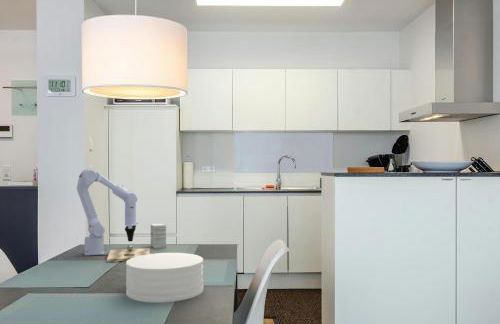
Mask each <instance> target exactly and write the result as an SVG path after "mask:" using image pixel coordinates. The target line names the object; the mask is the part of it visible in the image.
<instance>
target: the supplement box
mask: <svg viewBox="0 0 500 324" xmlns="http://www.w3.org/2000/svg"><path fill="white" fill-rule="evenodd" d="M150 247H152V248H153V249H161V248H163V249H164V248H167V225H166V224H164V223H150Z"/></svg>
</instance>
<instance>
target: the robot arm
mask: <svg viewBox="0 0 500 324" xmlns="http://www.w3.org/2000/svg"><path fill="white" fill-rule="evenodd" d="M94 182H97V183H100V184H102V185H104V186H105V187H107V188H109V189H110V190H112V194H113V195H114V196H116V197H117V198H119V199H121V200H123V202H124V226H125V227H124V231H125V233H126V236H127V237H126V238H127V241H128V242H133V240H134V235H135V231H136V227H137V225H139V222H137V208H136V207H137V206H136V205H137V204H136V202H137V201H138V196H137V195H136V194H135V193H133V192H132V191H131V190H128V189H127V188H125V186H124V185H123V184H115V183H114V182H113V181H111V180H110V179H108V178H107V177H106V176H104V175H102V174H101V173H100V172H97V171H95V170H93V169H84V170H82V171H81V173H80V174H79V175H78V181H77V185H76V191H77V194H78V197H79V199H80V202H81V204H82V207H83V210H84V213H85V217H86V218H87V225H88V227H87V231H88V233H89V235H88V236H87V237H86V236H85V238H84V249H83V250H84V256H95V255H96V256H98V255H105V253H106V251H105V248H104V242H105V239H104V237H105V236H104V234H105V226H104V225H102V223H101V221H100V219H99V218H98V215H97V213H96V209H95V207H94V204H93V201H92V198H91V195H90V193H89V188H90V186H91V185H92V184H93V183H94Z"/></svg>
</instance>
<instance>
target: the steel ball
mask: <svg viewBox="0 0 500 324" xmlns="http://www.w3.org/2000/svg"><path fill="white" fill-rule="evenodd" d="M126 249H127V250H128V251H132V249H134V247H133V246H132V245H131V244H130V245H127V247H126Z"/></svg>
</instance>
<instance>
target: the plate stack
mask: <svg viewBox="0 0 500 324" xmlns="http://www.w3.org/2000/svg"><path fill="white" fill-rule="evenodd" d="M203 264H204V257H202V256H201V255H198V254H192V253H187V252H161V253H160V252H158V253H157V252H155V253H150V254H147V255H142V256H137V257H134V258H131V259H129V260H127V261H125V266H126V268H125V269H126V270H125V274H126V276H125V281H126V282H125V287H126V288H125V295H126V296H127V298H129V299H131V300H135V301H138V302H144V303H168V302H169V303H170V302H171V303H173V302H179V301H185V300H189V299H192V298H195V297H197V296H199V295H201V294H202V293H204V292H203V291H204V265H203Z"/></svg>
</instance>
